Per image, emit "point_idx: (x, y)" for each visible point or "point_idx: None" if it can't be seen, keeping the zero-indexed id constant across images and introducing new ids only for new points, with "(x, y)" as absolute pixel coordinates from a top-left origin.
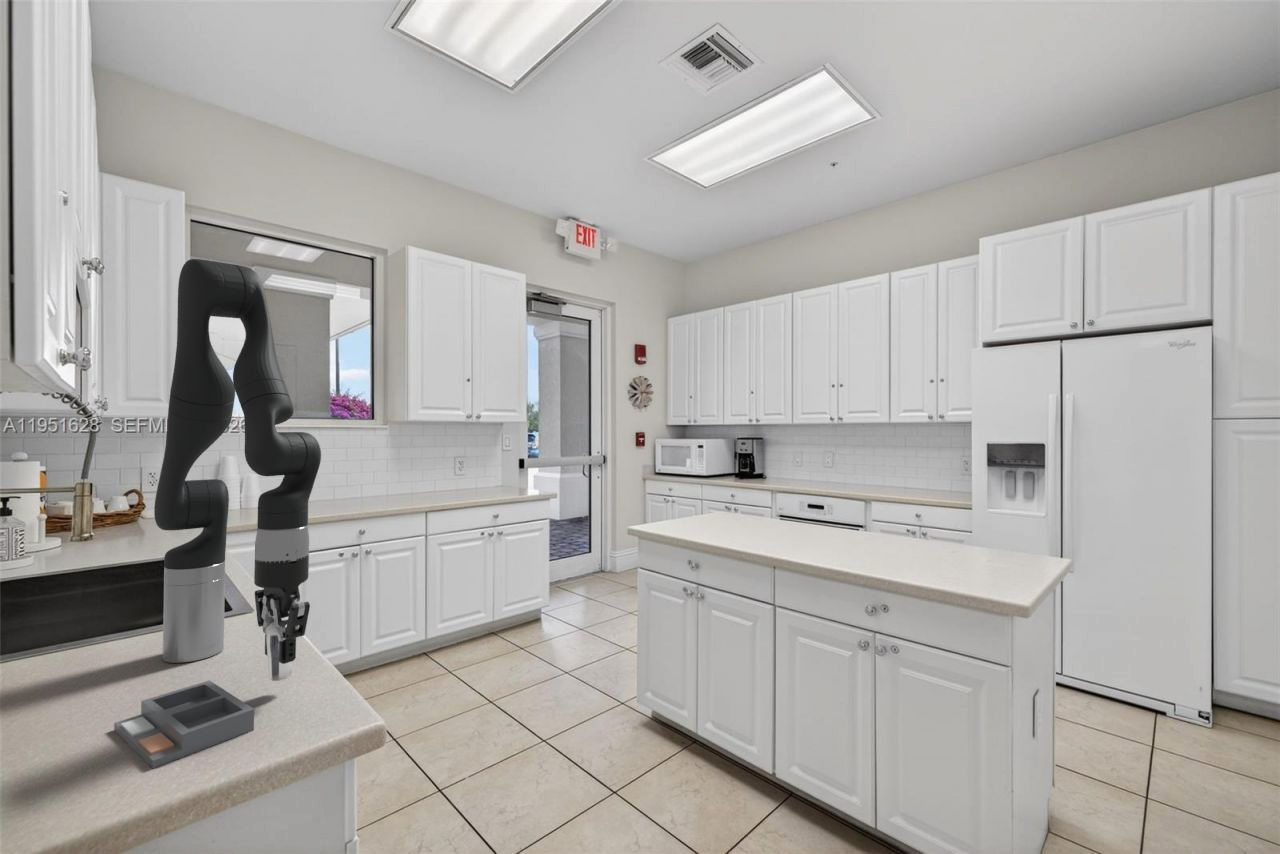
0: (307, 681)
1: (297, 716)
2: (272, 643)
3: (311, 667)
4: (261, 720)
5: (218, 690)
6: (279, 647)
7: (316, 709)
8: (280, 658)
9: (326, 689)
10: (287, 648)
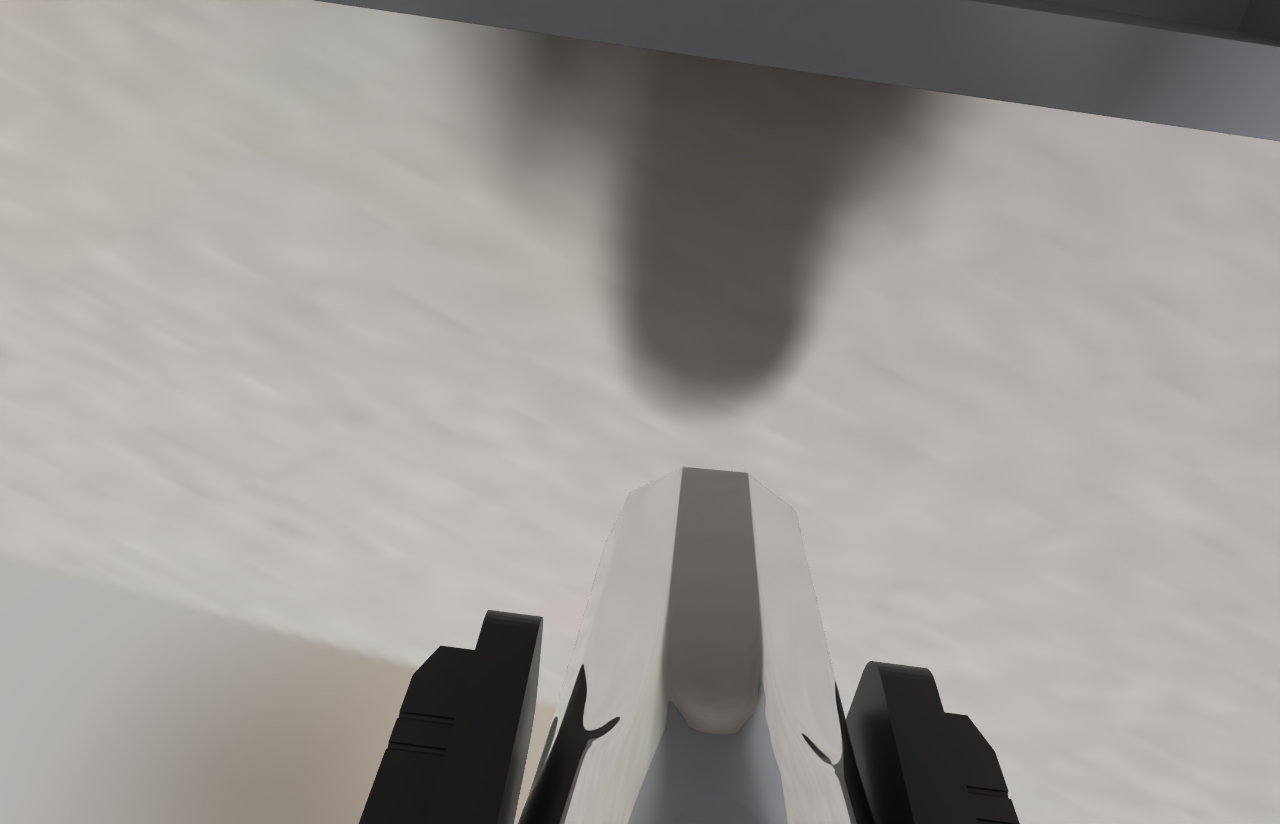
0: None
1: (157, 284)
2: (615, 808)
3: None
4: (317, 96)
5: (960, 36)
6: (500, 779)
7: (173, 414)
8: (494, 651)
9: (455, 614)
10: (377, 797)
